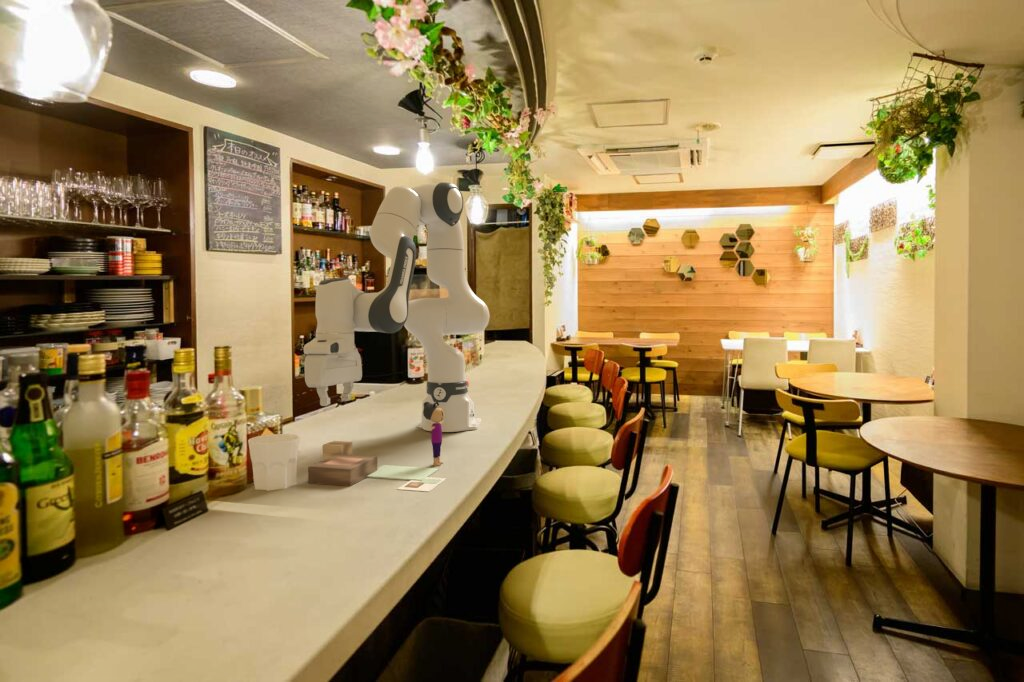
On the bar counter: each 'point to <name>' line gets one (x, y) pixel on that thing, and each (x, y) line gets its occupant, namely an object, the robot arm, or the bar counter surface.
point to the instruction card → (422, 484)
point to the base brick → (342, 470)
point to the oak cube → (337, 449)
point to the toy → (435, 428)
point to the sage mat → (402, 472)
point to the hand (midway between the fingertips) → (336, 403)
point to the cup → (274, 460)
